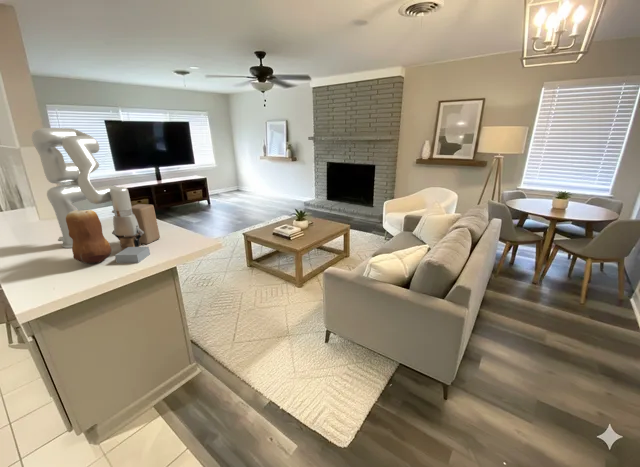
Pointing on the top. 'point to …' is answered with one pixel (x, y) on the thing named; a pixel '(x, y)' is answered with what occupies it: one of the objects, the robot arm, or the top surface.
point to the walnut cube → (127, 242)
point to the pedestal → (132, 254)
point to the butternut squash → (87, 236)
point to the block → (146, 222)
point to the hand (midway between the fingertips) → (131, 246)
